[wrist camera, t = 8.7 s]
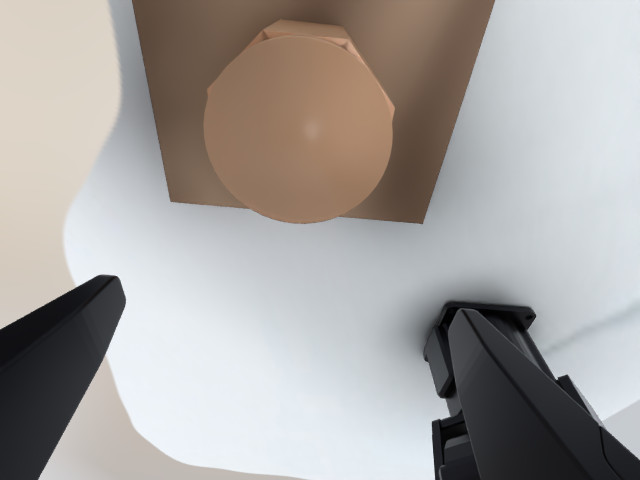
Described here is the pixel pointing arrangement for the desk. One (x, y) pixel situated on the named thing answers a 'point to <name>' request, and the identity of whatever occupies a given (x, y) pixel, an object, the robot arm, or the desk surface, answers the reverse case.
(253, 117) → the cap
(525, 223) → the desk surface
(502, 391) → the robot arm
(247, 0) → the post board
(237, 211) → the desk surface
